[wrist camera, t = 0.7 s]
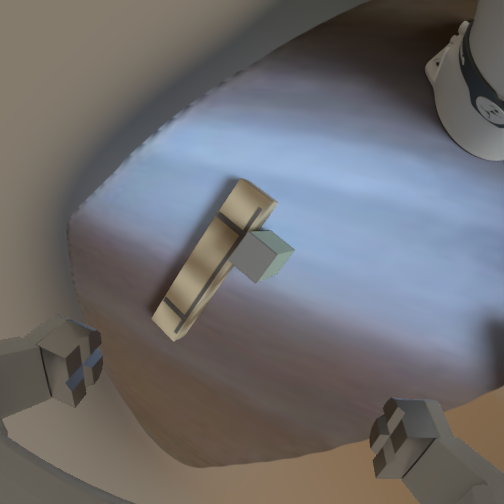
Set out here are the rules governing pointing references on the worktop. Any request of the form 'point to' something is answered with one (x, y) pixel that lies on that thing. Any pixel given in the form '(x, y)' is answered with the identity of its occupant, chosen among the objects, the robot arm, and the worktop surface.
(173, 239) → the worktop surface
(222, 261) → the maple plank
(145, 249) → the worktop surface
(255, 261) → the post
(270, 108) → the worktop surface
